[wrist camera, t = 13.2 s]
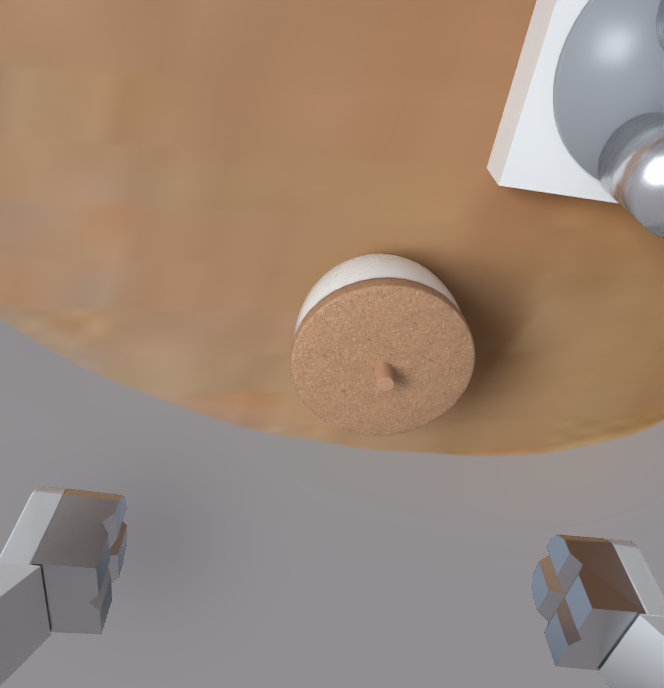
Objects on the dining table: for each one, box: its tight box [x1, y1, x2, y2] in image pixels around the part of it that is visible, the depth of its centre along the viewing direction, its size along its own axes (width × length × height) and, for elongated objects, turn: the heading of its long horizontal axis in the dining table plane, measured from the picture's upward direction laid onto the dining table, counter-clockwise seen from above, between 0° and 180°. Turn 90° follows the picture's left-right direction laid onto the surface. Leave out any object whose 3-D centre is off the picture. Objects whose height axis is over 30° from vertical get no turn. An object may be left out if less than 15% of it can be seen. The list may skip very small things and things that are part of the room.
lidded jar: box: [290, 254, 476, 436], centre depth 39 cm, size 11×11×9 cm
